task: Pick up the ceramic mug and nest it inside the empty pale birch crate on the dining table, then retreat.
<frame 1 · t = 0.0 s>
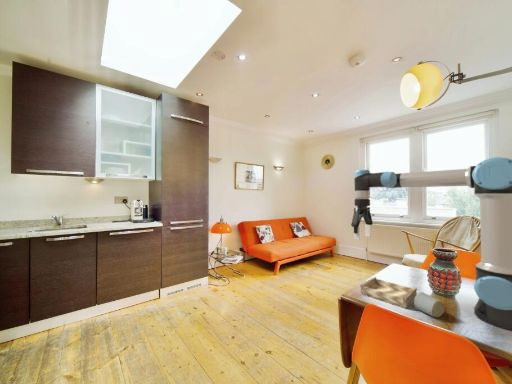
hand: (362, 238, 119), 28 cm above the table, fingers open, 13 cm apart
crate: (388, 295, 112), on the table
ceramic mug: (430, 313, 96), on the table
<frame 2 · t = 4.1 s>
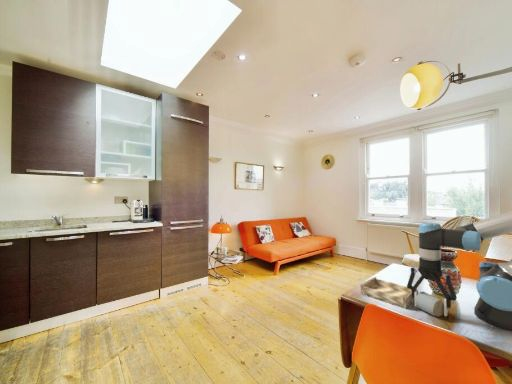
hand: (430, 310, 96), 1 cm above the table, fingers closed on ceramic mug, 9 cm apart
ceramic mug: (431, 312, 96), on the table, touching gripper
when the fingers open (3 cm above the table, at t = 9.7 s): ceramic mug drops 1 cm, resting on crate.
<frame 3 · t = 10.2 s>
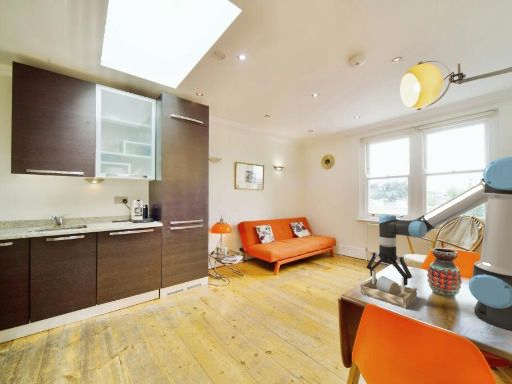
hand: (388, 287, 112), 4 cm above the table, fingers open, 13 cm apart
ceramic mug: (389, 293, 112), point 1 cm above the table, touching crate
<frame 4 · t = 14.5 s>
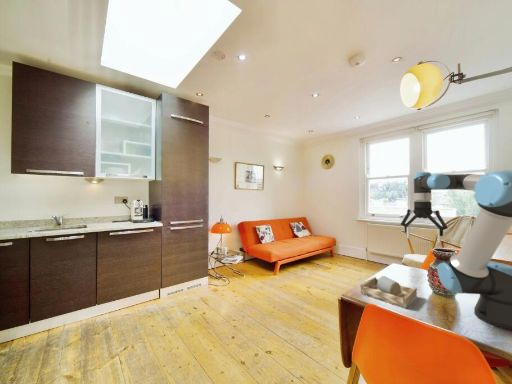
hand: (423, 240, 119), 27 cm above the table, fingers open, 13 cm apart
nothing on the table moved.
at the end: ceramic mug inside the target area on the crate (1.8 cm from its centre), point 0.8 cm above the crate's base; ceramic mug tilted 1°; the gripper is holding nothing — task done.
